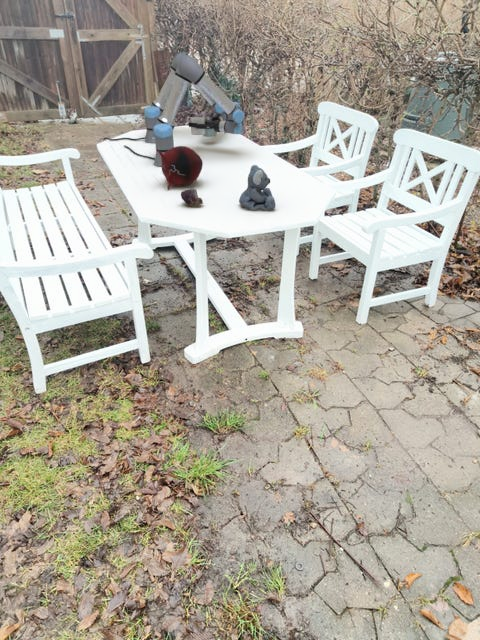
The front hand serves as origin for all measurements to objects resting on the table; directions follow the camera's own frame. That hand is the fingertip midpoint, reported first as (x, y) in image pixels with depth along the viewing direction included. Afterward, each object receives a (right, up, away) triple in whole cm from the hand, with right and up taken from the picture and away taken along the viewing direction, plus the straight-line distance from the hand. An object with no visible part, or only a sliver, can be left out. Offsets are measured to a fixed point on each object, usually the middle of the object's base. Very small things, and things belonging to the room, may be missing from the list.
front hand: (192, 123), depth 315 cm
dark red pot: (0, -59, -55) cm, 80 cm away
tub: (+11, -1, +19) cm, 22 cm away
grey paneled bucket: (+4, -6, +2) cm, 8 cm away
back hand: (+10, +3, +12) cm, 16 cm away
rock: (+8, -79, -84) cm, 116 cm away
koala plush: (+42, -80, -86) cm, 125 cm away
